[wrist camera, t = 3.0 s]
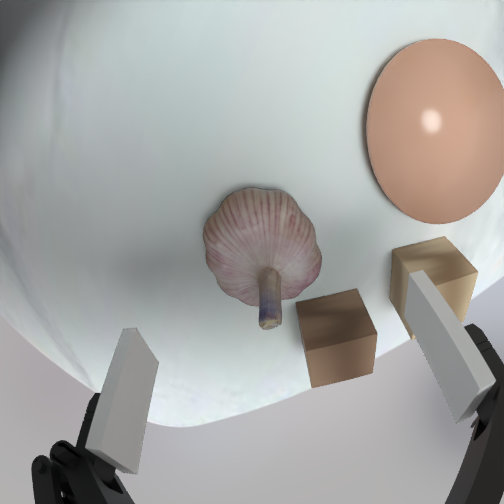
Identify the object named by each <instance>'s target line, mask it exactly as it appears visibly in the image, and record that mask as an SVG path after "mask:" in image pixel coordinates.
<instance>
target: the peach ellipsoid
mask: <svg viewBox="0 0 504 504" xmlns="http://www.w3.org/2000/svg"><path fill="white" fill-rule="evenodd" d="M366 134H367V147H368V153H369V158H370V162H371V165H372V169H373V171H374V174H375V176H376V179H377V181H378V183H379V184H380V186H381V188H382V190H383V191H384V193H385V194H386V195H387V197H388V198H389V199H390V200H391V201H392V202H393V203H394V204H395V205H396V206H397V207H398V208H399V209H400V210H401V211H402V212H404V213H405V214H406V215H408V216H410V217H412V218H414V219H415V220H418V221H421V222H424V223H430V224H446V223H451V222H455V221H458V220H460V219H462V218H465V217H467V216H468V215H470V214H471V213H473V212H475V211H476V210H477V209H478V208H479V207H481V206H482V205H483V204H484V203H485V202H486V201H487V200H488V199H489V197H490V196H491V195H492V193H493V192H494V191H495V189H496V187H497V186H498V184H499V182H500V180H501V178H502V176H503V174H504V89H503V87H502V85H501V82H500V81H499V79H498V77H497V75H496V74H495V72H494V71H493V70H492V68H491V67H490V66H489V64H488V63H487V62H486V61H485V60H484V59H483V58H482V57H481V56H480V55H478V54H477V53H476V52H475V51H473V50H472V49H470V48H468V47H467V46H465V45H463V44H460V43H458V42H455V41H451V40H447V39H428V40H422V41H418V42H416V43H413V44H411V45H409V46H407V47H405V48H404V49H402V50H401V51H399V52H398V53H397V54H396V55H395V56H394V57H393V58H392V59H391V60H390V61H389V62H388V63H387V65H386V66H385V67H384V69H383V71H382V72H381V74H380V75H379V77H378V79H377V82H376V84H375V86H374V88H373V92H372V95H371V98H370V102H369V107H368V113H367V125H366Z"/></svg>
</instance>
